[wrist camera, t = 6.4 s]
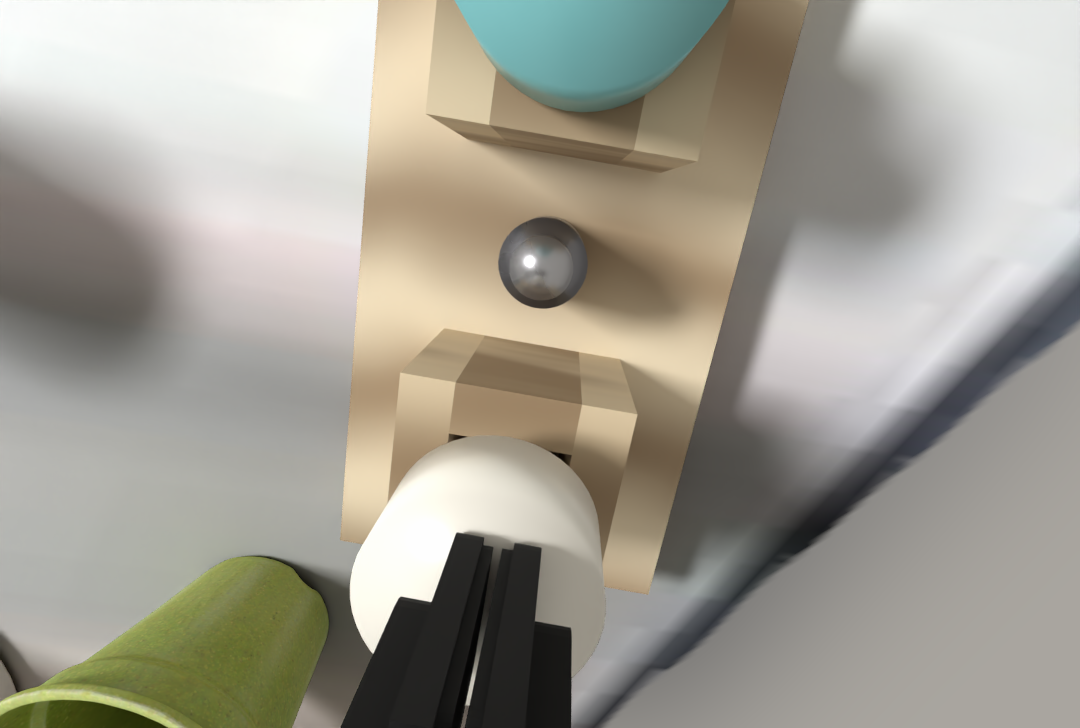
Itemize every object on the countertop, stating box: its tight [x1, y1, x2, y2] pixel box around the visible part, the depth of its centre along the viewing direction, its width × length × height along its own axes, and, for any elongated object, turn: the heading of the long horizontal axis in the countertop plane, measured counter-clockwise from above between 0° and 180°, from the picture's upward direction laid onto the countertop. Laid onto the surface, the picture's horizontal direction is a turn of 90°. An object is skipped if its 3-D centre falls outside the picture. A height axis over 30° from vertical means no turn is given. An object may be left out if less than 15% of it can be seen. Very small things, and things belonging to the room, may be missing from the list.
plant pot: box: [0, 556, 329, 728], centre depth 21 cm, size 9×9×9 cm
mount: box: [340, 0, 809, 594], centre depth 16 cm, size 24×12×7 cm, turn 170°
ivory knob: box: [350, 435, 606, 706], centre depth 14 cm, size 5×5×8 cm
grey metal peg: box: [498, 216, 588, 309], centre depth 16 cm, size 2×2×4 cm
